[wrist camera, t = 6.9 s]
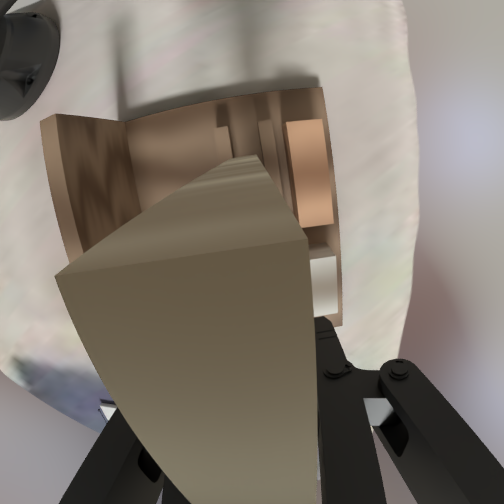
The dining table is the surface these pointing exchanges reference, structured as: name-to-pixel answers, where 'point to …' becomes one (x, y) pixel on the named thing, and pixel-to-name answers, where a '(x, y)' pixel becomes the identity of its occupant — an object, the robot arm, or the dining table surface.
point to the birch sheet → (209, 336)
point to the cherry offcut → (308, 172)
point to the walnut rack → (172, 161)
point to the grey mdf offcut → (323, 279)
